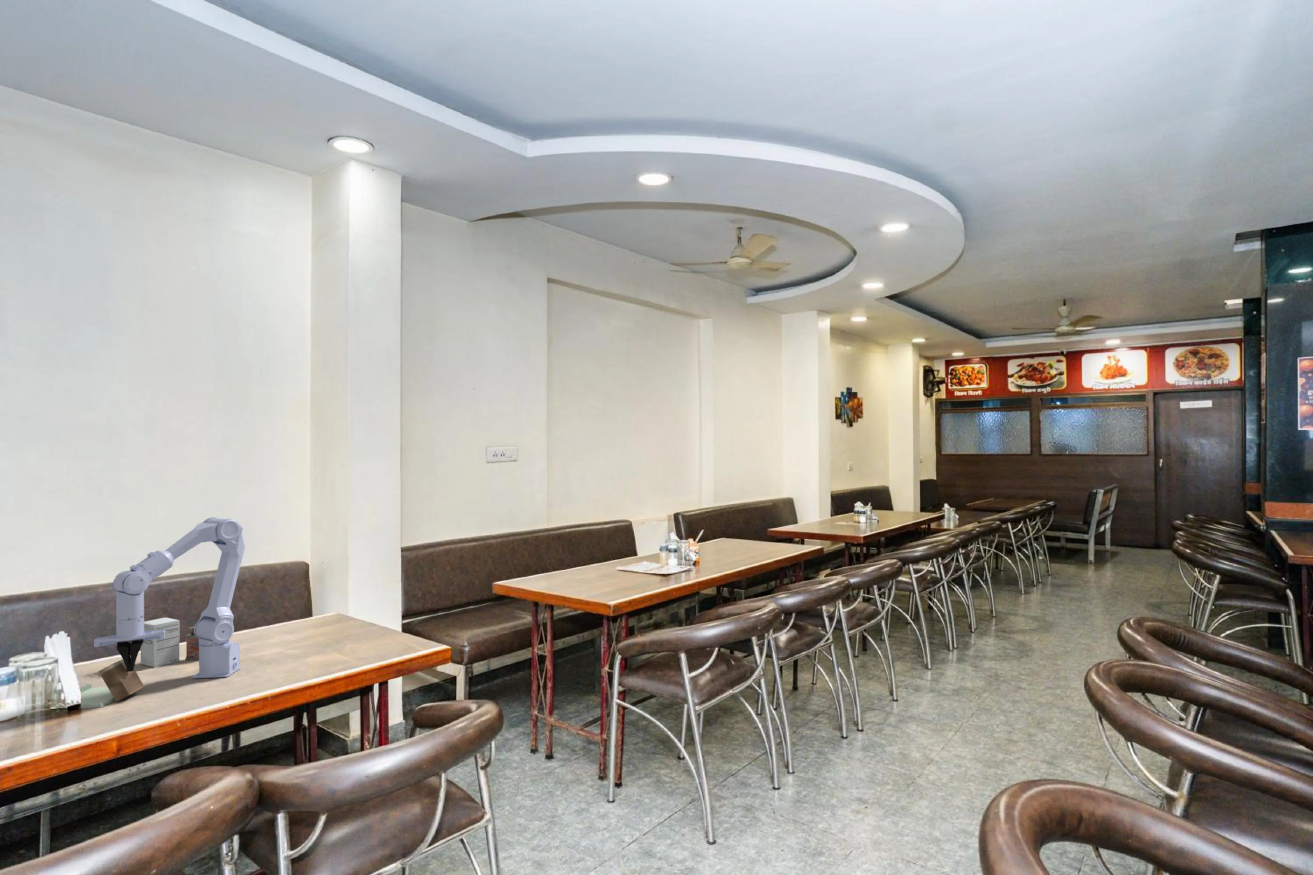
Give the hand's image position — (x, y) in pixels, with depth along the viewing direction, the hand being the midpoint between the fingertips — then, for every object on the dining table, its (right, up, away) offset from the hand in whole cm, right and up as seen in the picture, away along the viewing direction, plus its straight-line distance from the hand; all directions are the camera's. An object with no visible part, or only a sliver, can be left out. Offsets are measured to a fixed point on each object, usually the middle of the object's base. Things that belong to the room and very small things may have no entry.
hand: (130, 670), depth 178 cm
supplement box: (-13, -8, +29) cm, 33 cm away
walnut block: (0, -6, 0) cm, 6 cm away
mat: (-9, -7, -1) cm, 11 cm away
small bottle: (-3, -8, +33) cm, 34 cm away
